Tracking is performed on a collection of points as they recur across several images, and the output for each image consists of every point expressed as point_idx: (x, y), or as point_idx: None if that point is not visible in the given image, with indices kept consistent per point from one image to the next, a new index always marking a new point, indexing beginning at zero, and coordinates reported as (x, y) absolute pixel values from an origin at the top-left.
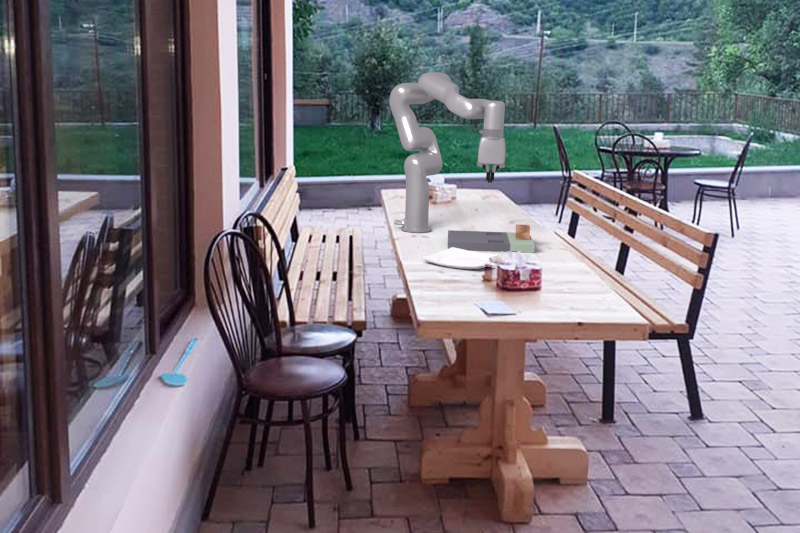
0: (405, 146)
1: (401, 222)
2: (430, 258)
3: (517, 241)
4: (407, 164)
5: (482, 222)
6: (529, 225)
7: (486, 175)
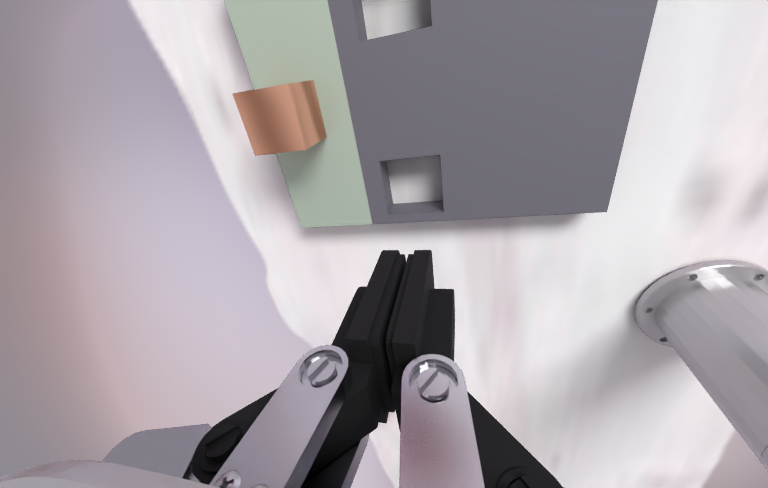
0: None
1: None
2: None
3: (299, 33)
4: None
5: None
6: (249, 139)
7: (450, 325)
